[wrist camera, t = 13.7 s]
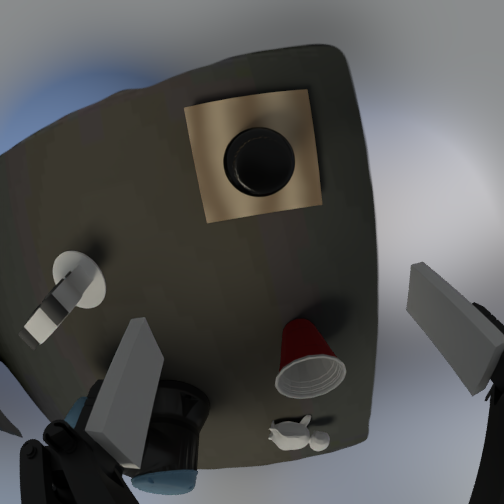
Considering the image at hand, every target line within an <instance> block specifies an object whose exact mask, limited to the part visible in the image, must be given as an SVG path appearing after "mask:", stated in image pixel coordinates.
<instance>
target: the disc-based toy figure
mask: <svg viewBox="0 0 504 504" xmlns="http://www.w3.org/2000/svg"><path fill="white" fill-rule="evenodd" d="M53 277H54V281H55V284H56V286H55V287H54V288H53V289H52V290H51V291H50V292H49V293H48V294H47V296H46V297H45V298H44V300H43V301H42V302H43V304H42V305H41V304H40V305H39V306H38V307H37V308H36V309H35V310H34V312H33V313H32V314H31V315H30V317H29V318H28V320H29V321H28V322H27V324H26V325H25V326H24V328H23V329H22V330H21V331H20V333H19V334H18V335H19V336H20V337H21V338H22V339H23V340H24V341H25V342H26V343H27V344H28V345H29V346H30V347H31V348H32V349H33V350H35V349H36V347H37V346H38V345H39V343H40V344H42V343H43V342H44V341H45V340H46V339H47V338H48V337H49V336H50V335H51V334H52V333H53V332H54V331H55V329H56V328H57V327H58V326H59V325H60V324H61V323H62V321H63V320H64V319H65V318H66V317H67V315H68V314H69V313H70V312H71V311H72V309H73V308H74V307H75V306H78V307H81V308H94V307H96V306H98V305H99V304H100V303H101V302H102V301H103V299H104V297H105V294H106V282H105V278H104V275H103V273H102V271H101V269H100V268H99V266H98V265H97V264H96V263H95V262H94V261H93V260H92V259H91V258H90V257H89V256H87V255H85V254H84V253H81V252H78V251H66V252H63V253H62V254H60V255H59V256H58V257H57V258H56V260H55V262H54V265H53Z"/></svg>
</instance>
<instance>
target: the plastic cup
mask: <svg viewBox="0 0 504 504" xmlns="http://www.w3.org/2000/svg"><path fill="white" fill-rule="evenodd" d="M345 374H346V368H345V365H344V363H343V362H342V361H341V360H339V359H338V358H337V356H335V354H334V352H332V350H331V349H330V347H329V346H328V344H327V343H326V341H325V340H324V338H323V337H322V335H321V333H319V332H318V330H317V328H316V327H315V325H314V324H312V323H311V322H310V321H309V320H306V319H295V320H293V321H290V322H289V323H288V324H287V325H286V326H285V328H284V329H283V334H282V346H281V363H280V368H279V373H278V374H277V376H276V382H275V387H276V388H277V390H278V391H279V393H281V394H283V395H285V396H287V397H290V398H297V399H304V398H313V397H316V396H320V395H323V394H326V393H327V392H329V391H331V390H333V389H334V388H336V387H337V386H338V385H339V384H340V383H341V382H342V381H343V380H344V377H345Z"/></svg>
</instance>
